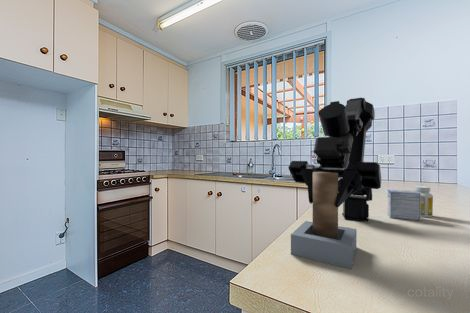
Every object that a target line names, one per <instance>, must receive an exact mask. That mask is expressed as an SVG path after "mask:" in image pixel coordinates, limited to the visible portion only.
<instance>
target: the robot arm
mask: <svg viewBox="0 0 470 313" xmlns="http://www.w3.org/2000/svg"><path fill="white" fill-rule="evenodd" d="M375 113H376V112H375V107H374V104H373V103H371V102H368V101H366V98H365V97H357V98H356V97H355V98H350V99H347V100H346V104H343V103H341V102H340V100H337V101H330V102H329V104H327V105H325V106H324V107H322V108H321V109H319V110H318V117H319V121H320V124H321V128H322V130H323V135H324V137H317V138H315V140H314V147H313V153H314V154H315V155H316V157H317V158H316V159H315V160H316V163H317V164H318V165H319V166H315V165H314V164H312V163H311V164H309V163H308V160H291V161H290V163H289V164H288V170H289V172H290V174H291V177H292V179H293V181H294V182H295V183H297V184H298V183H299V184H305V186H307V195H308V196H307V198H308V201H309V204H311V205H313V172H336V173H338V195H337V198H336V207H338V208H339V207H340V206H341V205H342V213H341V215H342V217H343V219H344V220H353V221H365V222H366V221H367V222H369V217H370V216H369V214H370V213H369V211H370V206H369V204H368V202H369V201H370V202H371V201H373V189H374V190H379V189H380V188H382V187H381V186H382V174H381V173H382V172H381V165H380V163H378V162H377V161H375V162H374V161H365V160H364V158H365V147H366V136H367V135H366V134H367V132H368V131H369V130H370V129H371V128H372V126H373V120H375V118H376V117H375V116H376V115H375Z"/></svg>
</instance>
